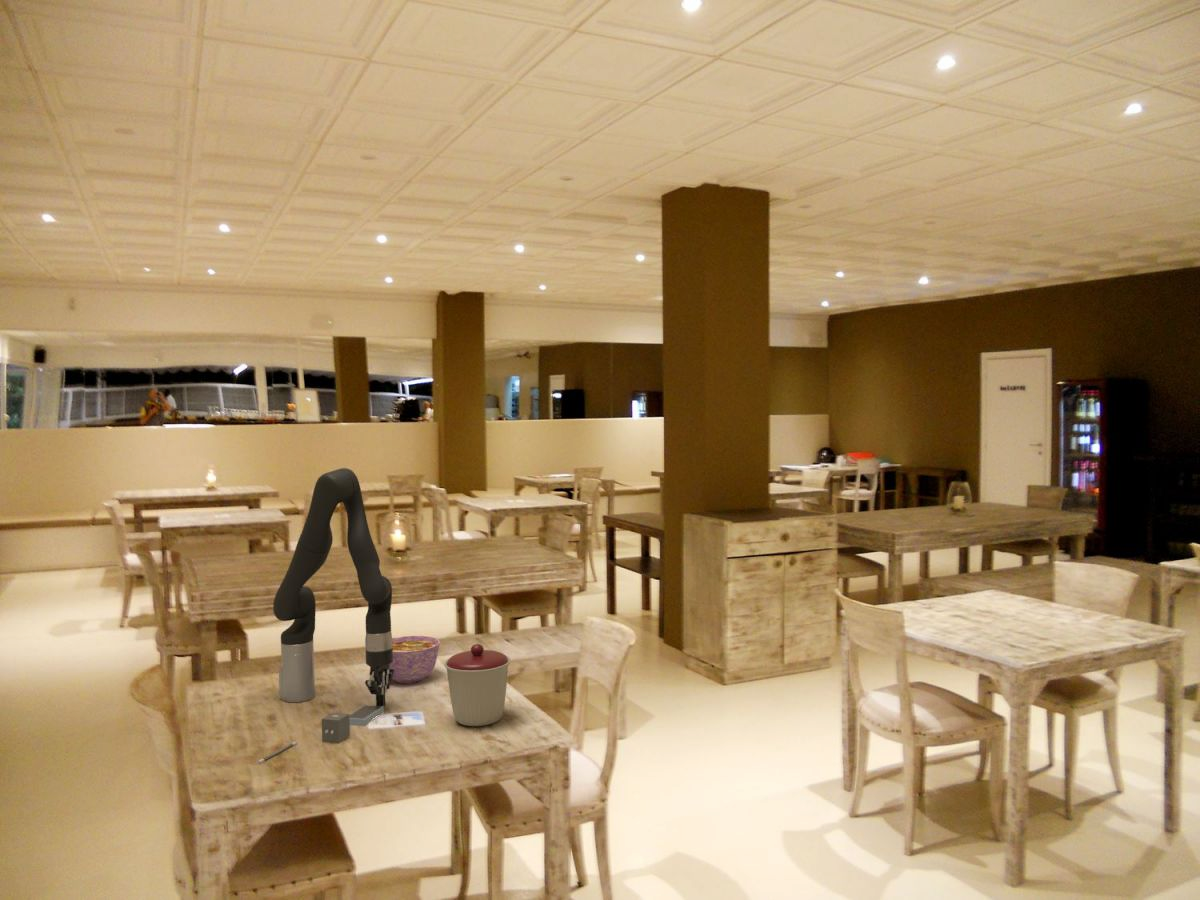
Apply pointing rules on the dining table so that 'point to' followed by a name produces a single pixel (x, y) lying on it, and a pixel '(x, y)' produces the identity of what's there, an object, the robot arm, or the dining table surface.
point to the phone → (365, 714)
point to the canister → (477, 685)
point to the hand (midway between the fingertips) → (380, 706)
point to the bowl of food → (413, 657)
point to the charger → (335, 727)
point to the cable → (277, 752)
